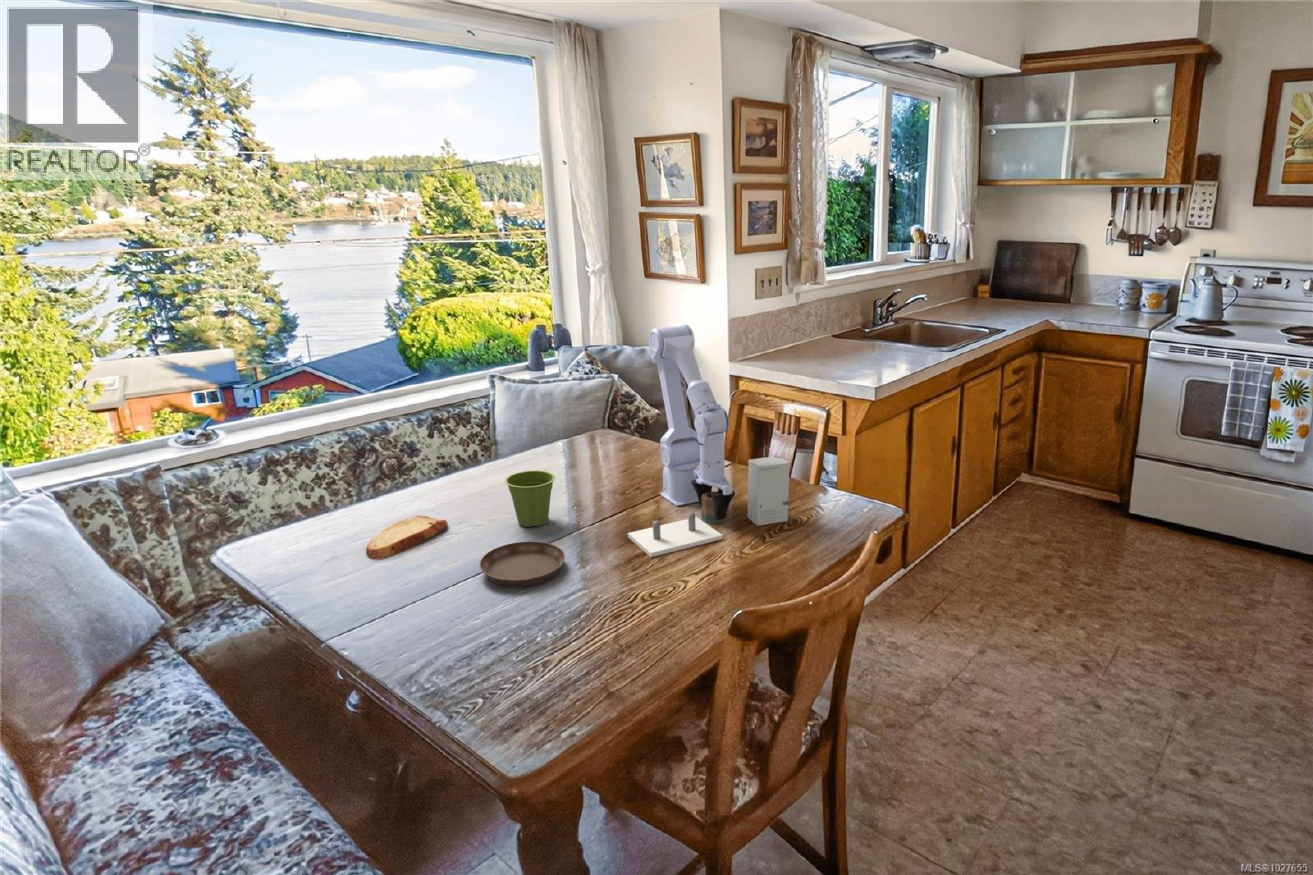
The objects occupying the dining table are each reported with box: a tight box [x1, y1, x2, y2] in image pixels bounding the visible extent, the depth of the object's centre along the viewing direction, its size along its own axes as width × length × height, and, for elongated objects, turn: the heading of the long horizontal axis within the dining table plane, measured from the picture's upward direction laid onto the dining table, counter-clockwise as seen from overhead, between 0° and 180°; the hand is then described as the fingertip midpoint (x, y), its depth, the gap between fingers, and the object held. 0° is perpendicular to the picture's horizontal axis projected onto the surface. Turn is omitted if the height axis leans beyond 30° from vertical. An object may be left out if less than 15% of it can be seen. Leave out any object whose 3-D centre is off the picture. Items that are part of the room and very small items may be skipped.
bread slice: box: [365, 515, 449, 560], centre depth 181 cm, size 18×18×4 cm
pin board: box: [627, 511, 724, 558], centre depth 176 cm, size 12×18×5 cm, turn 116°
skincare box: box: [747, 456, 790, 527], centre depth 183 cm, size 8×6×15 cm
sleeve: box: [701, 491, 724, 524], centre depth 186 cm, size 5×5×6 cm
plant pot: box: [504, 469, 556, 528], centre depth 187 cm, size 12×12×11 cm
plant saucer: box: [479, 540, 566, 588], centre depth 164 cm, size 18×18×3 cm
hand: (713, 513), depth 186 cm, fingers open, 7 cm apart
